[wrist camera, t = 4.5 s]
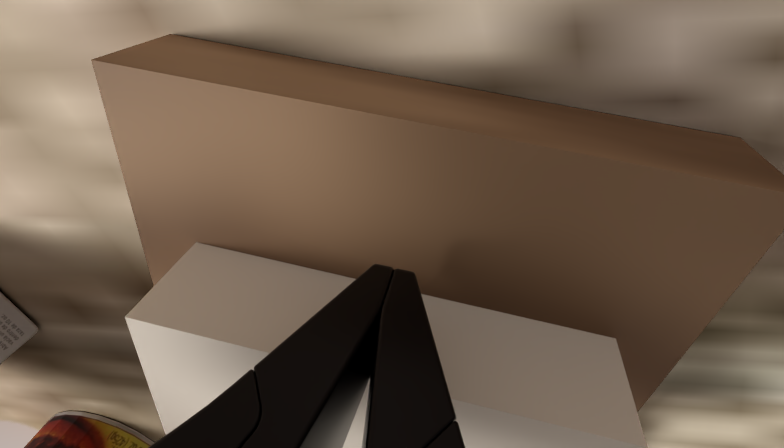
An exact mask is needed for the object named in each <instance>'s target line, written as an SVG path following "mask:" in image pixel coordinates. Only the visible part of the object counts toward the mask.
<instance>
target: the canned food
mask: <svg viewBox="0 0 784 448" xmlns="http://www.w3.org/2000/svg"><path fill="white" fill-rule="evenodd" d="M152 444H154V442H153V441H152V440H150V439H148V438H147V437H145V436H144V435H142V434H141V433H139V432H137V431H136V430H133V429H131V428H129V427H127V426H125V425H123V424H121V423H119V422H117V421H114V420H111V419H108V418H106V417H103V416H100V415H96V414H91V413H87V412H79V411H66V412H60V413H57V414H56V415H54V416H53V417H52V418H51V419H50V420H49V421H48V422H47V423H46V424H45V425H44V426H43V427H42V428H41V430H40V431H39V432H38V433H37V434H36V435H35V436H34V437H33V438H32V439H31V441H30V442H29V443H28V444H27V445H26V446H25V447H24V448H148V447H149V446H151V445H152Z"/></svg>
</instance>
